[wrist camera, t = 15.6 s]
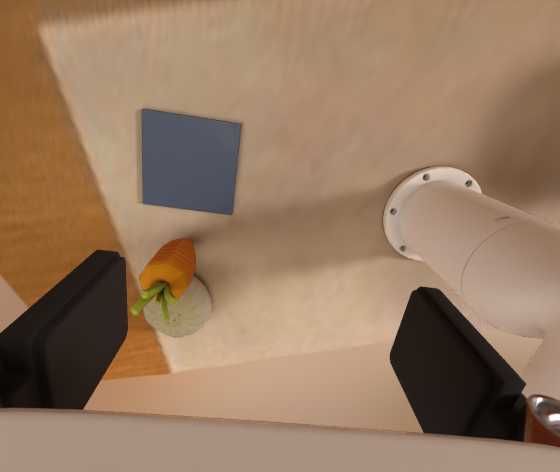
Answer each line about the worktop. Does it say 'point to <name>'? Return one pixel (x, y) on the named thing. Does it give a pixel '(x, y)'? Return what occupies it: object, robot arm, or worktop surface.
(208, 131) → the napkin
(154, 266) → the carrot
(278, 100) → the worktop surface
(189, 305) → the sea urchin shell
